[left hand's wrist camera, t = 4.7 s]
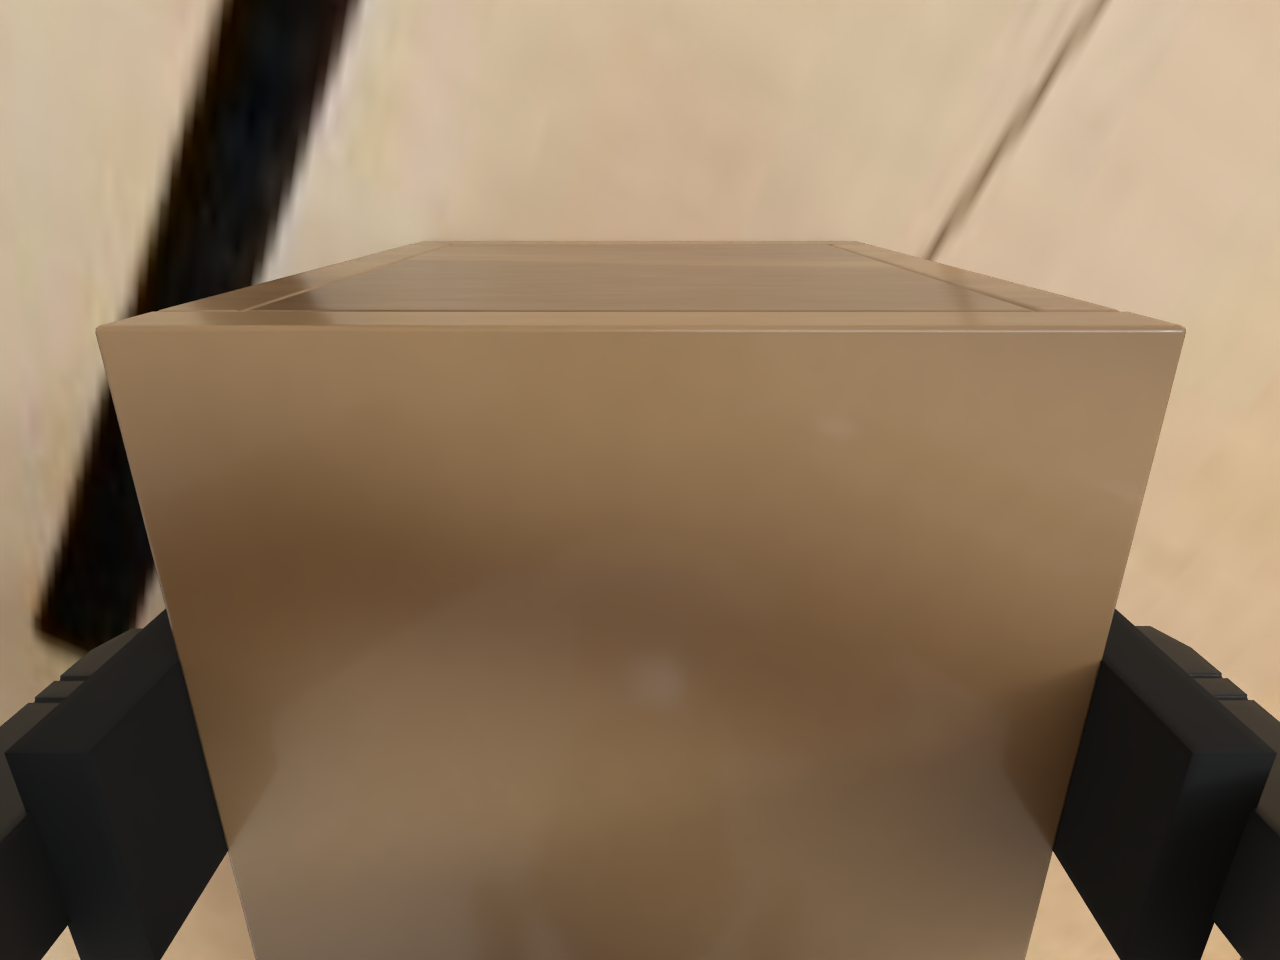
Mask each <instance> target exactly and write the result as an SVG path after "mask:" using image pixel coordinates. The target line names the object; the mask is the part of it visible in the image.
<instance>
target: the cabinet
mask: <svg viewBox="0 0 1280 960" xmlns="http://www.w3.org/2000/svg"><path fill="white" fill-rule="evenodd" d="M1185 334H1186V330H1185V328H1184V327H1182V326H1180V325H1177V324H1173V323H1169V322H1165V321H1161V320H1157V319H1154V318H1150V317H1146V316H1142V315H1138V314H1134V313H1131V312H1120V311H1118V310H1115V309H1111V308H1108V307H1104V306H1100V305H1096V304H1092V303H1089V302H1085V301H1081V300H1077V299H1073V298H1070V297H1066V296H1062V295H1058V294H1054V293H1051V292H1047V291H1043V290H1039V289H1035V288H1032V287H1028V286H1024V285H1020V284H1016V283H1013V282H1009V281H1005V280H1001V279H997V278H993V277H990V276H986V275H982V274H978V273H974V272H971V271H967V270H963V269H959V268H955V267H952V266H948V265H944V264H940V263H936V262H933V261H929V260H925V259H921V258H917V257H914V256H910V255H906V254H902V253H898V252H895V251H891V250H887V249H883V248H879V247H876V246H872V245H868V244H864V243H860V242H856V241H423V242H419V243H416V244H410V245H406V246H402V247H399V248H395V249H391V250H387V251H383V252H380V253H376V254H372V255H368V256H364V257H361V258H357V259H353V260H349V261H345V262H341V263H338V264H334V265H330V266H326V267H322V268H319V269H315V270H311V271H307V272H303V273H300V274H296V275H292V276H288V277H284V278H280V279H277V280H273V281H269V282H265V283H261V284H258V285H254V286H250V287H246V288H242V289H239V290H235V291H231V292H227V293H223V294H219V295H216V296H212V297H208V298H204V299H200V300H197V301H193V302H189V303H185V304H181V305H178V306H174V307H170V308H166V309H162V310H159V311H157V312H150V313H146V314H142V315H139V316H135V317H131V318H127V319H123V320H119V321H116V322H112V323H108V324H104V325H101V326H99V327H97V328H96V336H97V340H98V344H99V348H100V352H101V356H102V360H103V363H104V367H105V371H106V375H107V379H108V383H109V387H110V391H111V395H112V399H113V403H114V406H115V410H116V414H117V418H118V422H119V426H120V430H121V434H122V438H123V442H124V446H125V450H126V453H127V457H128V461H129V465H130V469H131V473H132V477H133V481H134V485H135V489H136V493H137V496H138V500H139V504H140V508H141V512H142V516H143V520H144V524H145V528H146V532H147V536H148V540H149V543H150V547H151V551H152V555H153V559H154V563H155V567H156V571H157V575H158V579H159V583H160V586H161V590H162V594H163V598H164V602H165V606H166V610H167V614H168V618H169V622H170V626H171V630H172V633H173V637H174V641H175V645H176V649H177V653H178V657H179V661H180V665H181V669H182V673H183V676H184V680H185V684H186V688H187V692H188V696H189V700H190V704H191V708H192V712H193V716H194V720H195V723H196V727H197V731H198V735H199V739H200V743H201V747H202V751H203V755H204V759H205V763H206V766H207V770H208V774H209V778H210V782H211V786H212V790H213V794H214V798H215V802H216V806H217V810H218V813H219V817H220V821H221V825H222V829H223V833H224V837H225V841H226V845H227V849H228V853H229V856H230V860H231V864H232V868H233V872H234V876H235V880H236V884H237V888H238V892H239V896H240V900H241V903H242V907H243V911H244V915H245V919H246V923H247V927H248V931H249V935H250V939H251V943H252V946H253V950H254V954H255V958H256V960H1025V957H1026V953H1027V949H1028V945H1029V941H1030V937H1031V933H1032V930H1033V926H1034V922H1035V918H1036V914H1037V910H1038V906H1039V902H1040V898H1041V894H1042V891H1043V887H1044V883H1045V879H1046V875H1047V871H1048V867H1049V863H1050V859H1051V856H1052V852H1053V848H1054V844H1055V840H1056V836H1057V832H1058V828H1059V824H1060V820H1061V817H1062V813H1063V809H1064V805H1065V801H1066V797H1067V793H1068V789H1069V785H1070V782H1071V778H1072V774H1073V770H1074V766H1075V762H1076V758H1077V754H1078V750H1079V746H1080V743H1081V739H1082V735H1083V731H1084V727H1085V723H1086V719H1087V715H1088V711H1089V708H1090V704H1091V700H1092V696H1093V692H1094V688H1095V684H1096V680H1097V676H1098V672H1099V669H1100V665H1101V661H1102V657H1103V653H1104V649H1105V645H1106V641H1107V637H1108V634H1109V630H1110V626H1111V622H1112V618H1113V614H1114V610H1115V606H1116V602H1117V598H1118V595H1119V591H1120V587H1121V583H1122V579H1123V575H1124V571H1125V567H1126V563H1127V560H1128V556H1129V552H1130V548H1131V544H1132V540H1133V536H1134V532H1135V528H1136V524H1137V521H1138V517H1139V513H1140V509H1141V505H1142V501H1143V497H1144V493H1145V489H1146V486H1147V482H1148V478H1149V474H1150V470H1151V466H1152V462H1153V458H1154V454H1155V450H1156V447H1157V443H1158V439H1159V435H1160V431H1161V427H1162V423H1163V419H1164V415H1165V412H1166V408H1167V404H1168V400H1169V396H1170V392H1171V388H1172V384H1173V380H1174V376H1175V373H1176V369H1177V365H1178V361H1179V357H1180V353H1181V349H1182V345H1183V341H1184V338H1185Z"/></svg>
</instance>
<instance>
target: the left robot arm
mask: <svg viewBox="0 0 1280 960" xmlns="http://www.w3.org/2000/svg"><path fill="white" fill-rule="evenodd" d="M1221 674H1222V673H1221V672H1219V671H1218V670H1217V669H1216V668H1215V667H1213V666H1212V665H1211V664H1210V663H1209V662H1208V661H1206V660H1205V659H1204V658H1203V657H1202V656H1200V655H1199V654H1198V653H1197V652H1196V651H1194V650H1193V649H1192V648H1191V647H1189V646H1187V645H1185V644H1183V643H1181V642H1179V641H1177V640H1175V639H1174V638H1172V637H1170V636H1168V635H1166V634H1164V633H1162V632H1160V631H1158V630H1156V629H1155V628H1153V627H1151V626H1134V625H1133V624H1132V623H1131V622H1130V621H1128V620H1127V619H1126V618H1125V617H1124V616H1123V615H1122V614H1121V613H1119V612H1118V611H1117V610H1116V609H1115V610H1114V614H1113V618H1112V622H1111V626H1110V630H1109V634H1108V637H1107V641H1106V645H1105V649H1104V653H1103V657H1102V661H1101V665H1100V669H1099V672H1098V676H1097V680H1096V684H1095V688H1094V692H1093V696H1092V700H1091V704H1090V708H1089V711H1088V715H1087V719H1086V723H1085V727H1084V731H1083V735H1082V739H1081V743H1080V746H1079V750H1078V754H1077V758H1076V762H1075V766H1074V770H1073V774H1072V778H1071V782H1070V785H1069V789H1068V793H1067V797H1066V801H1065V805H1064V809H1063V813H1062V817H1061V820H1060V824H1059V828H1058V832H1057V836H1056V840H1055V844H1054V848H1053V852H1054V853H1055V855H1056V857H1057V858H1058V860H1059V861H1060V863H1061V865H1062V866H1063V868H1064V869H1065V871H1066V873H1067V874H1068V876H1069V878H1070V879H1071V881H1072V882H1073V884H1074V886H1075V887H1076V889H1077V890H1078V892H1079V894H1080V895H1081V897H1082V899H1083V900H1084V902H1085V903H1086V905H1087V907H1088V908H1089V910H1090V911H1091V913H1092V915H1093V916H1094V918H1095V920H1096V921H1097V923H1098V924H1099V926H1100V928H1101V929H1102V931H1103V932H1104V934H1105V936H1106V937H1107V939H1108V941H1109V942H1110V944H1111V945H1112V947H1113V949H1114V950H1115V952H1116V953H1117V955H1118V957H1119V958H1120V960H1201V957H1202V954H1203V952H1204V949H1205V946H1206V943H1207V941H1208V938H1209V935H1210V933H1211V930H1212V927H1213V925H1214V922H1215V924H1216V925H1217V926H1218V928H1219V929H1220V930H1221V931H1222V933H1223V934H1224V935H1225V937H1226V938H1227V939H1228V940H1229V942H1230V943H1231V944H1232V946H1233V947H1234V948H1235V949H1236V951H1237V952H1238V953H1239V955H1240V956H1241V958H1240V960H1280V722H1279V721H1278V720H1277V719H1275V718H1274V717H1273V716H1272V715H1271V714H1269V713H1268V712H1267V711H1266V710H1265V709H1264V708H1262V707H1261V706H1260V705H1259V704H1258V703H1256V702H1255V701H1254V700H1248V699H1247V694H1246V693H1244V692H1243V691H1242V690H1241V689H1240V688H1239V687H1237V686H1236V685H1235V684H1234V683H1233V682H1231V681H1230V680H1229V679H1228V678H1222V676H1221ZM60 677H61V678H60V681H54V682H53V683H52V684H50V685H49V686H48V687H47V688H46V689H44V690H43V691H42V692H41V693H40V694H39V695H37V696H36V697H35V702H34V703H28V704H27V705H26V706H24V707H23V708H22V709H21V710H20V711H18V712H17V713H16V714H15V715H14V716H13V717H11V718H10V719H9V720H8V721H7V722H5V723H4V724H3V725H2V726H1V727H0V960H41V959H42V958H43V956H44V955H45V954H46V953H47V951H48V950H49V949H50V947H51V946H52V945H53V944H54V942H55V941H56V940H57V938H58V937H59V936H60V934H61V933H62V932H63V931H64V929H65V928H66V927H67V925H68V927H69V930H70V932H71V935H72V938H73V940H74V943H75V946H76V949H77V951H78V954H79V957H80V959H81V960H161V958H162V956H163V955H164V953H165V952H166V950H167V948H168V947H169V945H170V943H171V942H172V940H173V939H174V937H175V935H176V934H177V932H178V931H179V929H180V927H181V926H182V924H183V922H184V921H185V919H186V918H187V916H188V914H189V913H190V911H191V910H192V908H193V906H194V905H195V903H196V901H197V900H198V898H199V897H200V895H201V893H202V892H203V890H204V889H205V887H206V885H207V884H208V882H209V880H210V879H211V877H212V876H213V874H214V872H215V871H216V869H217V868H218V866H219V864H220V863H221V861H222V859H223V858H224V856H225V855H226V853H227V851H228V849H227V845H226V841H225V837H224V833H223V829H222V825H221V821H220V817H219V813H218V810H217V806H216V802H215V798H214V794H213V790H212V786H211V782H210V778H209V774H208V770H207V766H206V763H205V759H204V755H203V751H202V747H201V743H200V739H199V735H198V731H197V727H196V723H195V720H194V716H193V712H192V708H191V704H190V700H189V696H188V692H187V688H186V684H185V680H184V676H183V673H182V669H181V665H180V661H179V657H178V653H177V649H176V645H175V641H174V637H173V633H172V630H171V626H170V622H169V618H168V614H167V610H166V609H165V610H164V611H163V612H161V613H160V614H159V615H158V616H157V617H156V618H155V619H154V620H152V621H151V622H150V623H149V624H148V625H147V626H146V627H145V628H143V629H130V630H128V631H126V632H124V633H123V634H121V635H119V636H117V637H115V638H113V639H111V640H109V641H107V642H106V643H104V644H102V645H100V646H98V647H96V648H94V649H92V650H91V651H89V652H88V653H87V654H86V655H85V656H83V657H82V658H81V659H80V660H79V661H78V662H76V663H75V664H74V665H73V666H72V667H70V668H69V669H68V670H67V671H66V672H65V673H63V674H62V675H61V676H60Z"/></svg>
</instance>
